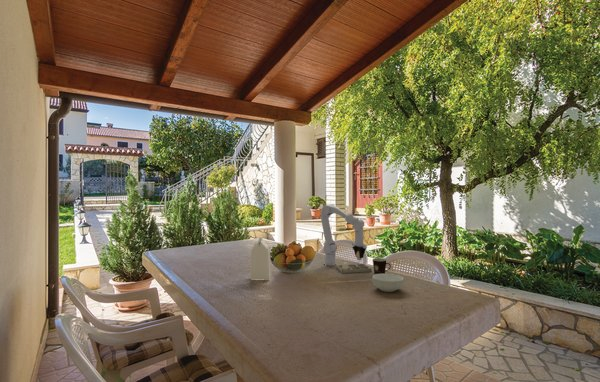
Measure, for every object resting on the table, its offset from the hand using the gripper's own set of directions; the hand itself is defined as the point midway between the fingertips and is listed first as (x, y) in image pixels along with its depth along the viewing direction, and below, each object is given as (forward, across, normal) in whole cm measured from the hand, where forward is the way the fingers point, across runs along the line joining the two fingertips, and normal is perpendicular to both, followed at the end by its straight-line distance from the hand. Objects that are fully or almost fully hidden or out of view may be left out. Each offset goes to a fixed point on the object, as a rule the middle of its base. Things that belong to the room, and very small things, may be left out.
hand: (359, 257), depth 227 cm
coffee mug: (+9, +20, +2) cm, 22 cm away
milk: (+9, -12, -67) cm, 68 cm away
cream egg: (+7, +3, -13) cm, 15 cm away
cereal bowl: (+9, +44, -13) cm, 47 cm away
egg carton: (+8, +2, -6) cm, 11 cm away
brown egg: (+1, 0, 0) cm, 1 cm away
